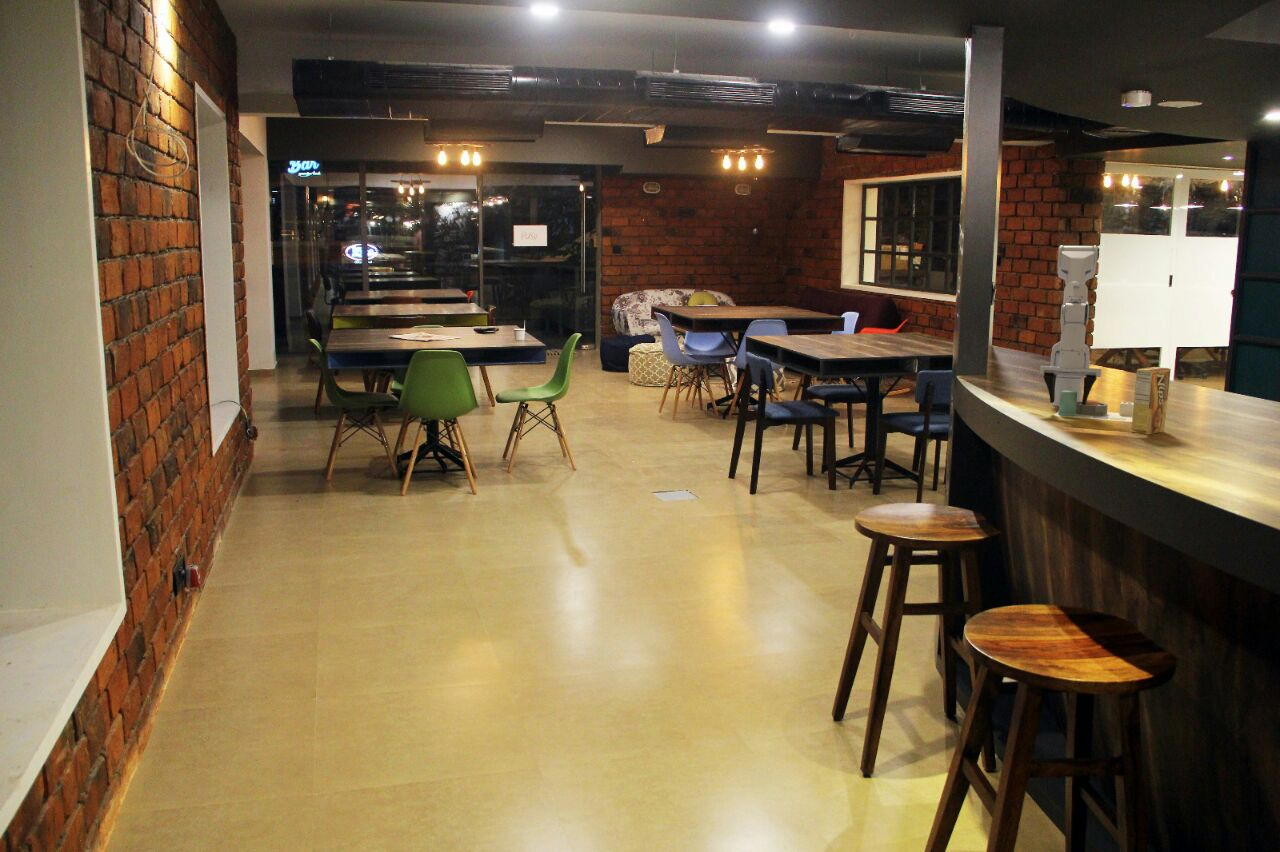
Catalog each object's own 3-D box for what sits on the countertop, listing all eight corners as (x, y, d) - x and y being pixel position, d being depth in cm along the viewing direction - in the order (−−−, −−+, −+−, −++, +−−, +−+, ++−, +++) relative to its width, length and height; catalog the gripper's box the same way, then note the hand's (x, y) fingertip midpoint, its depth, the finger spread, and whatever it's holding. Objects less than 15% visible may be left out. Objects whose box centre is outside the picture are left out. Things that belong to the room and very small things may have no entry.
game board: (1061, 412, 288) (1062, 397, 287) (1152, 419, 277) (1153, 403, 277) (1052, 419, 275) (1053, 403, 275) (1146, 427, 264) (1148, 410, 264)
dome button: (1079, 407, 284) (1080, 399, 283) (1102, 409, 281) (1103, 400, 280) (1076, 410, 279) (1077, 401, 278) (1100, 411, 276) (1100, 403, 276)
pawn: (1059, 413, 280) (1061, 390, 279) (1077, 414, 277) (1079, 391, 276) (1056, 415, 276) (1058, 392, 275) (1075, 416, 274) (1076, 393, 273)
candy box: (1148, 429, 261) (1153, 366, 259) (1165, 431, 258) (1171, 368, 255) (1130, 433, 256) (1135, 368, 253) (1148, 435, 252) (1153, 370, 250)
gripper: (1039, 349, 274) (1035, 402, 276) (1100, 353, 267) (1096, 407, 269) (1044, 348, 280) (1040, 399, 282) (1104, 351, 273) (1100, 404, 275)
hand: (1068, 403), depth 276 cm, fingers open, 7 cm apart
